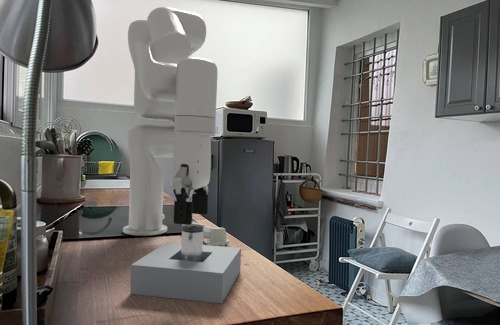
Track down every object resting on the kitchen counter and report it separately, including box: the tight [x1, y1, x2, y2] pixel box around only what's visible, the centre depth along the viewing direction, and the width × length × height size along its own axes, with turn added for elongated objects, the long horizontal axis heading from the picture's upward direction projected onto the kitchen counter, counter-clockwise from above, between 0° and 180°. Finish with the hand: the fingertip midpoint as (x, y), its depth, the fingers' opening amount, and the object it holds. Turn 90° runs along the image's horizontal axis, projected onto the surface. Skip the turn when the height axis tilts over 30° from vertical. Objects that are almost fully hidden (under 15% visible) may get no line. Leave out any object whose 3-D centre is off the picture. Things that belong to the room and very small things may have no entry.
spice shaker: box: [180, 224, 204, 262], centre depth 69 cm, size 4×4×9 cm
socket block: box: [130, 241, 242, 304], centre depth 69 cm, size 16×16×5 cm
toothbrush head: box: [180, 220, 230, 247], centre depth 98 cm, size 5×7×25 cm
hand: (191, 218), depth 69 cm, fingers open, 9 cm apart
